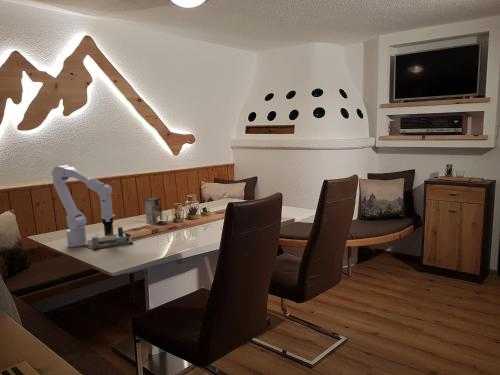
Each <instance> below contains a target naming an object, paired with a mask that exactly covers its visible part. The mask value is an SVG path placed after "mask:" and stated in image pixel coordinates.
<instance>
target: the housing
mask: <svg viewBox="0 0 500 375" xmlns="http://www.w3.org/2000/svg"><path fill="white" fill-rule="evenodd" d="M113 225H114V224H112V229H111V233H109V234H107V233H106V229H105V226H104V225H103V232H104V237H111V236H114V226H113Z"/></svg>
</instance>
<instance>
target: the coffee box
mask: <svg viewBox="0 0 500 375" xmlns="http://www.w3.org/2000/svg"><path fill="white" fill-rule="evenodd" d="M144 208H145V209H144V210H145V221H146V224H149V225H155V224H157V221H158V220H157V217H158V216H160V220H163V211H162V209H163V207H162V198H160V197H153V198H148V199H144ZM154 223H155V224H154Z"/></svg>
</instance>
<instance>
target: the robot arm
mask: <svg viewBox="0 0 500 375" xmlns="http://www.w3.org/2000/svg"><path fill="white" fill-rule="evenodd" d="M51 175H52V181H53V182H52V184H53V186H54V189H55V190H56V192H57V194H58V196H59V199H60V201H61V203H62V205H63V208H64V210H65V211H66V214H67V215H66V218H65V219H66V222H67V223H66V224H67V227H68V228H69V229H66V241H67V242H66V243H67V247H68V248H74V247H81V246H88V243H89V242H88V240H87V233H86V225H87V223H88V220H87V217H86V216H85V215H84V213H83V212H82V211H81V210H79V209H78V208H77V205H76V203H75V200H74V199H73V197H72V195H71V193H70V190H69V189H68V186H67V184H66V183H67V181H68V179H69V178H74V179H76V180H78V181H80V182H82V183H84V184H85V185H86V187H87V189H88V188H89V189H90V190H92V191H93V192H95V193H97V195H98V196H99V200H100V211H101V212H100V215H101V216H100V218H101V220H102V221H101V223H102V224H103V227H104V226H105V229H106V233H107V234H109V233H111V229H112V225H113V224H114V217H116V214H113V213H114V212H113V203H112V202H113V201H112V193H113V187H112V186H111V185H110V184H105V183H104V182H102V181H100V180H98V178H96V177H90V178H89V176H87V175H85V174H84V173H82V172H81V171H79V170H77V169H76V168H75V167H74V166H72V165H70V164H65V165H56V166H55V167H53V169H52V171H51Z"/></svg>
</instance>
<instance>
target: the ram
mask: <svg viewBox="0 0 500 375" xmlns="http://www.w3.org/2000/svg"><path fill="white" fill-rule="evenodd" d="M123 229H124V228H123V227H122V226H118V227H117V233H118V234H117V233H116V234H115V239H116V242H115V243H120V242H127V240H126V237H127V236H126V233H124V231H123Z"/></svg>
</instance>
